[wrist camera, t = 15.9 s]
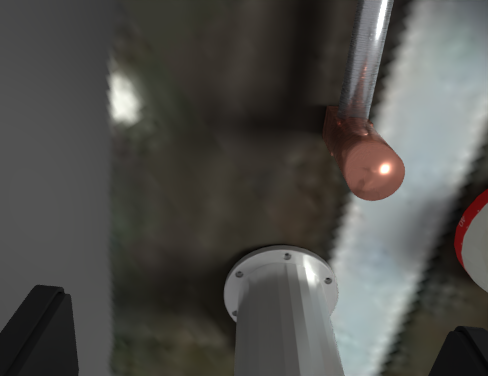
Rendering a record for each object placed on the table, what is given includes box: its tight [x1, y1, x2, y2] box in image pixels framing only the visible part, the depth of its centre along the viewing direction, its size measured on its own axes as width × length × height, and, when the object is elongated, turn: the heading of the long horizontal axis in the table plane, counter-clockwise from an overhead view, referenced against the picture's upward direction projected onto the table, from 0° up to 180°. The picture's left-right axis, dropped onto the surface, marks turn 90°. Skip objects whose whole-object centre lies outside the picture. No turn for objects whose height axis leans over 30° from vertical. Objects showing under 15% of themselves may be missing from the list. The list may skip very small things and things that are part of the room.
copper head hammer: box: [322, 0, 405, 201], centre depth 27 cm, size 19×4×12 cm, turn 176°
